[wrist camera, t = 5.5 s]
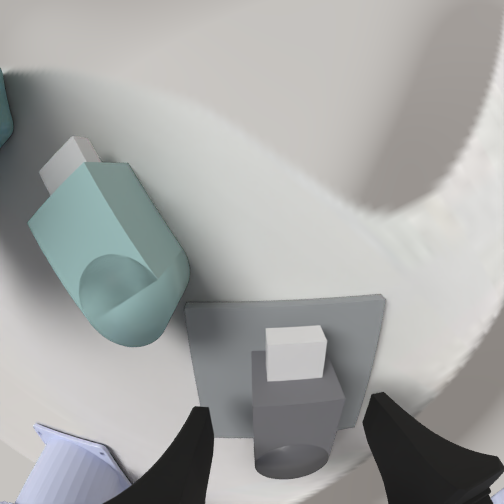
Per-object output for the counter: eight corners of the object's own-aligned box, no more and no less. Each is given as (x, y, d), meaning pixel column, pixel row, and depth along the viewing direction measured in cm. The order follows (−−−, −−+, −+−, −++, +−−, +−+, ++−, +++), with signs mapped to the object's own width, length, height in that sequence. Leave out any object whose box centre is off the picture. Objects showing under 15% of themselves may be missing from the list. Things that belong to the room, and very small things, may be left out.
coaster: (352, 420, 15) (354, 427, 14) (208, 430, 15) (207, 437, 14) (380, 294, 13) (385, 299, 12) (186, 302, 12) (184, 308, 12)
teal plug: (205, 281, 12) (189, 322, 9) (147, 315, 13) (119, 359, 9) (109, 131, 10) (62, 120, 7) (59, 177, 11) (9, 183, 7)
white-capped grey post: (312, 427, 14) (323, 474, 11) (254, 431, 14) (255, 480, 11) (328, 313, 12) (353, 361, 9) (250, 316, 12) (251, 369, 9)
